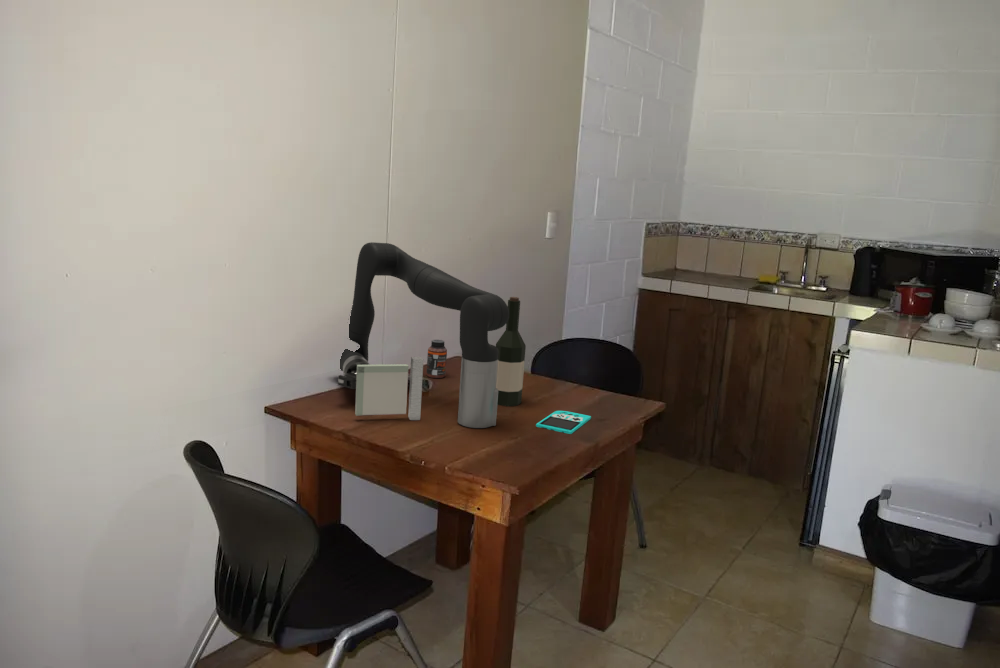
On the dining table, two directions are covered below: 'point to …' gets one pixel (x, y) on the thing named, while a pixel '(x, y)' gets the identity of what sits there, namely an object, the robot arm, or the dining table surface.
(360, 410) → the beige and green panel
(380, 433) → the dining table surface
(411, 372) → the post
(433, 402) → the dining table surface
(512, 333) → the wine bottle
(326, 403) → the dining table surface
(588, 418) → the handheld game console
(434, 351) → the supplement bottle
